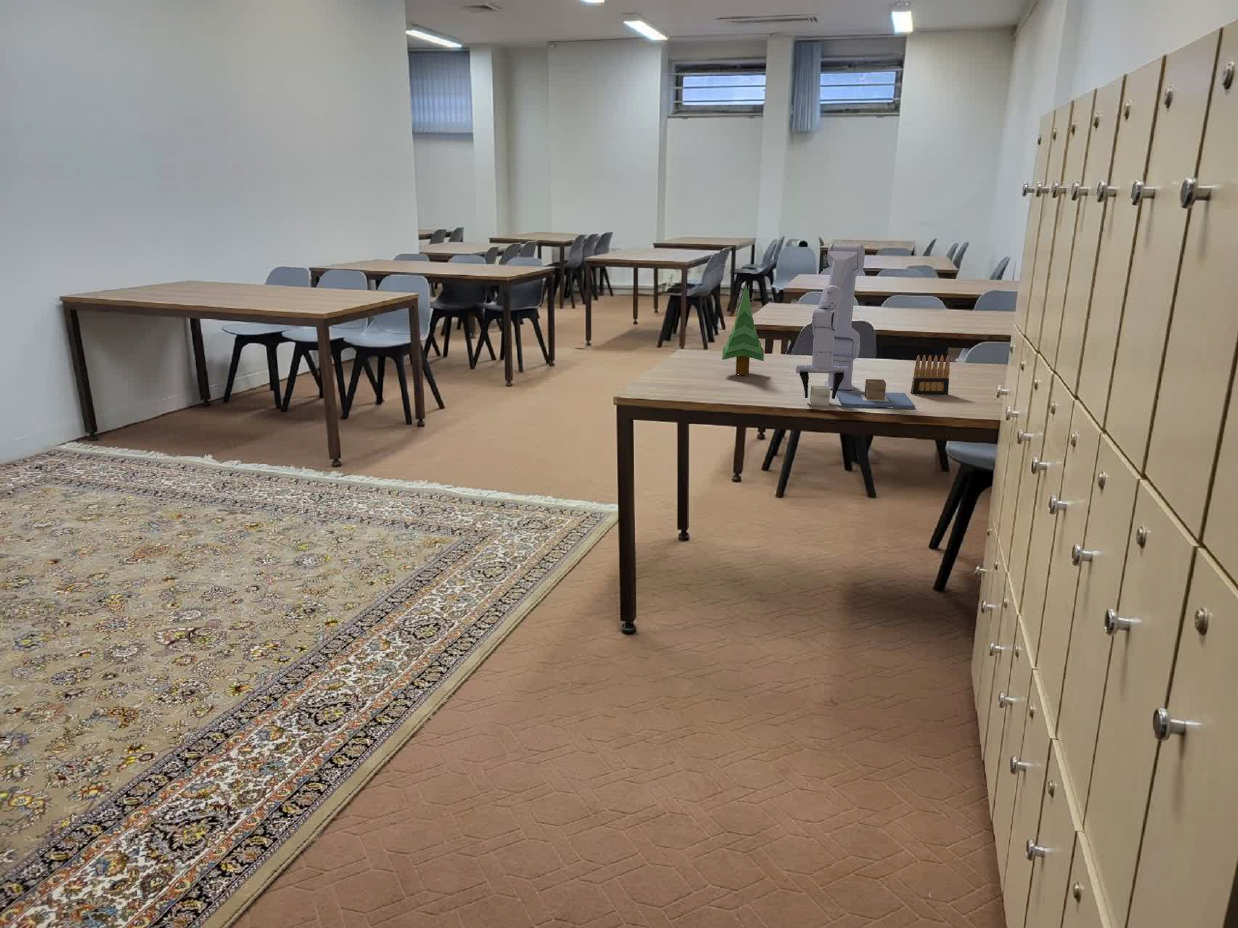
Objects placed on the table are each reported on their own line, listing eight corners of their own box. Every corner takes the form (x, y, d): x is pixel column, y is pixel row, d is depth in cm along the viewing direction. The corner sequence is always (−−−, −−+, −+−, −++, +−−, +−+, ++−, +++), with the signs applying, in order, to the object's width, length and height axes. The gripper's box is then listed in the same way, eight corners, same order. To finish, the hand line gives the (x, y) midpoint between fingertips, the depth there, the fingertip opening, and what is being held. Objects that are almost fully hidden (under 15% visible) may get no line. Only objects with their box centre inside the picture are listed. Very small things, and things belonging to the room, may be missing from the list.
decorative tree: (773, 376, 290) (778, 284, 281) (731, 380, 284) (734, 286, 275) (752, 369, 302) (756, 280, 293) (711, 372, 296) (714, 282, 287)
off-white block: (809, 401, 257) (811, 384, 256) (827, 401, 257) (828, 385, 255) (811, 405, 252) (812, 388, 251) (829, 405, 252) (830, 388, 250)
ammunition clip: (912, 394, 265) (916, 355, 261) (910, 393, 267) (914, 354, 263) (948, 394, 264) (952, 355, 261) (946, 393, 266) (950, 354, 263)
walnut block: (864, 395, 259) (865, 379, 257) (881, 396, 258) (883, 379, 256) (866, 399, 254) (868, 382, 252) (884, 400, 253) (886, 383, 252)
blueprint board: (836, 394, 265) (836, 390, 265) (904, 396, 263) (904, 392, 262) (842, 406, 250) (842, 403, 250) (914, 409, 248) (915, 405, 247)
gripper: (798, 353, 247) (795, 400, 251) (850, 354, 245) (847, 401, 249) (796, 348, 254) (793, 394, 258) (847, 350, 252) (844, 396, 256)
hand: (819, 397), depth 254 cm, fingers open, 7 cm apart
